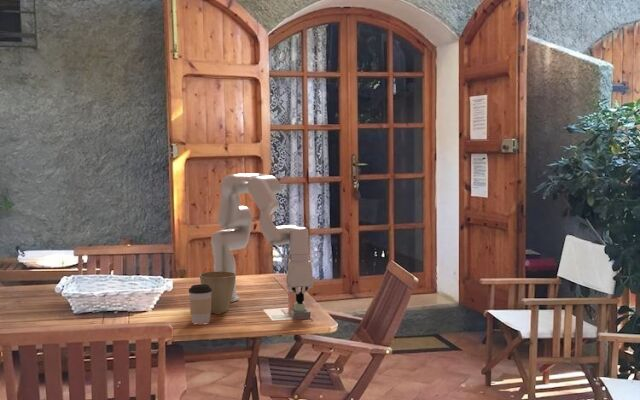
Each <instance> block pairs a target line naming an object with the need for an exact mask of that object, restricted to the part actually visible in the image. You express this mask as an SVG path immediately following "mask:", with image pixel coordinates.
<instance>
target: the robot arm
mask: <svg viewBox="0 0 640 400" xmlns="http://www.w3.org/2000/svg"><path fill="white" fill-rule="evenodd" d="M280 189H281V183H280V181H279V179H278V178H277V177H276V176H274V175H271V174H264V173H255V172H254V173H233V174H232V173H231V174H228V175H225V176H224V177H223V178H222V180H221V184H220V195H221V196H220V202H219V209H218V215H217V224H218V225H219V227H221V228H222V229H221V230H217V231H215V232H214V233H212V235H211V238H210V244H211V248H212V249H211V250H212V255H213V269H214V270H213V272H216V271H224V272H232V273H235V274H236V275H237V273H236V259H235V257H234V255H233V253H232V251H235V250H243V249H245V248H246V247H247V245H248V243H249V241H250V237H251V236H250V235H251V229H252V224H253V215H252V214H253V213H252V211H251V209H250V208H249V207H248V206H245V205H241V197H240V194H250V196H251V197H252V199H253V201H254V203H255V205H256V206H257V208H258V209H259V211H260V215H259V228H260V230H261V233H262V235H263V236H264V237H265V239H266V240H267V242H269V244H270V245H273V246H279V245H287V244H288V245H289V254H288V255H285V259H286V260H289V261H287V267H286V287H285V288H286V290H287V291H288V290H293V291H294V292H295V293H296V302H297V303H298V304H303V302H304V301H305V293H306V292H307V290H310V289H313V288H314V285H313V284H314V274H313V266H312V262H311V260H309V259H310V257H309V256H310V255H309V230H308V227H305V226H297V225H294V224H286V225H278V226H277V225H275V224H274V222H273V221H272V219H271V215H272V214H274V213H275V212H276V211H277V210H278V209H279V208H280V207H279V206H280V202H279V200H278V198H277V197H276V195H277V194H278V193H279V192H280ZM236 278H237V277H235V284H234V290H233V294H232V298H231V302H230V303H233V302H237V301H239V300H240V295H237V286H236V285H237V284H236V283H237V279H236ZM299 288H300V290H299Z"/></svg>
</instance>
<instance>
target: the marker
mask: <svg viewBox="0 0 640 400" xmlns="http://www.w3.org/2000/svg"><path fill="white" fill-rule="evenodd" d="M287 295H288V298H287V301H288V302H287V305H288V306H287V308H288V311H289V312H290V310H289V309H294V303H296V293H295V292H294V291H293V290H288V289H287Z"/></svg>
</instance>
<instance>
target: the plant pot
mask: <svg viewBox="0 0 640 400" xmlns="http://www.w3.org/2000/svg"><path fill="white" fill-rule="evenodd" d="M236 275H237V273H236V274H235V273H232V272H224V271H216V272H214V271H208V272H203V273H200V274H199V280H200V284H204V285H209V287H210V288H212V289H211V290H212V291H211V312H210V314H212V313H215V314H214V315H221V313H226V312H227V311H228V310H229V308H230V304H231V303H232V302H231V298H232V294H233V290H234V284H235V277H236ZM236 278H237V277H236Z"/></svg>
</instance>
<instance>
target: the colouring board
mask: <svg viewBox="0 0 640 400" xmlns="http://www.w3.org/2000/svg"><path fill="white" fill-rule="evenodd" d="M263 312H264V313H265V314H266V315H267V316H268V317H269V318H270V320H271V321H272V322H273V321H284V320H285V321H287V320H294V319H293V318H292V317H291V316H290V312H289V311H288V307H281V308H280V307H278V308H267V309H266V308H265V309H263ZM312 318H313V317H312V316H311V318H310V319H312ZM299 319H301V320H302V318H299ZM299 319H298V320H299Z"/></svg>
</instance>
